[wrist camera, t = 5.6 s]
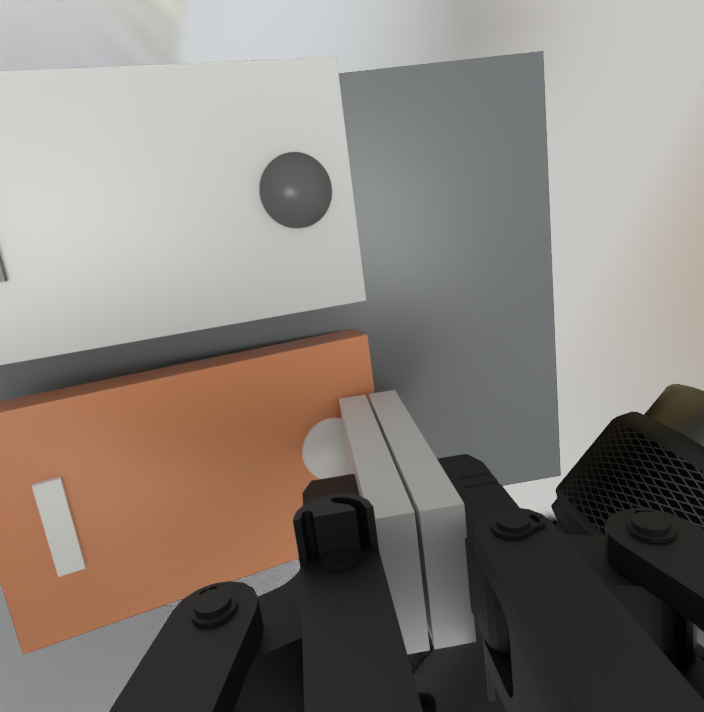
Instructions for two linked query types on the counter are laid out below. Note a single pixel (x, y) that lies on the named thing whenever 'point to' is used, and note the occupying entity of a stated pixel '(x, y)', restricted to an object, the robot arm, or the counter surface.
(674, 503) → the muzzle brake
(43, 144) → the light grey flat plate
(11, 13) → the counter surface
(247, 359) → the orange slotted plate
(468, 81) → the switch module
